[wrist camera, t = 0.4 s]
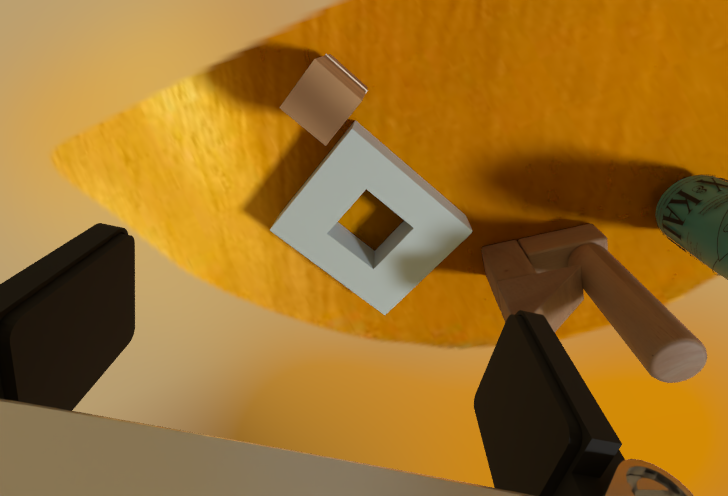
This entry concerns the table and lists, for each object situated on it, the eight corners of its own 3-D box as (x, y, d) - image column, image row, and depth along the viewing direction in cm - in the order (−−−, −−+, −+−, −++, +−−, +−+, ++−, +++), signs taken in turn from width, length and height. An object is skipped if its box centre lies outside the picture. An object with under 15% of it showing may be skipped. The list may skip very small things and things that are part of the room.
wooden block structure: (480, 245, 45) (532, 364, 28) (591, 221, 43) (714, 333, 27) (485, 276, 46) (538, 406, 30) (593, 254, 44) (711, 379, 28)
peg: (332, 51, 38) (314, 56, 29) (369, 85, 39) (363, 100, 30) (303, 91, 39) (277, 107, 30) (339, 122, 40) (325, 147, 31)
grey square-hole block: (355, 120, 40) (352, 128, 36) (465, 215, 43) (472, 231, 40) (279, 214, 44) (269, 230, 41) (385, 294, 48) (384, 315, 44)
